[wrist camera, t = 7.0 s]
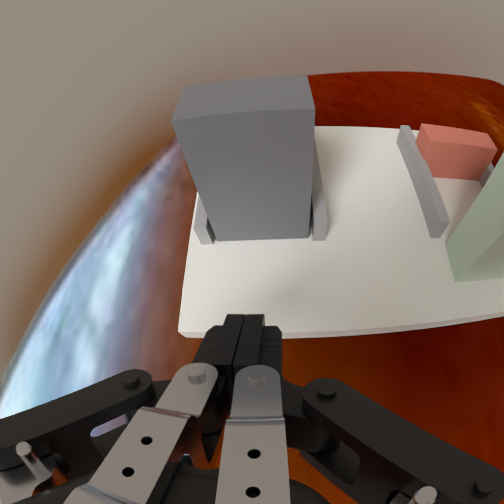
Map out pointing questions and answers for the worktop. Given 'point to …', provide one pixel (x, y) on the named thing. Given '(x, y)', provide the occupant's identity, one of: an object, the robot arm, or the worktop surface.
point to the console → (355, 242)
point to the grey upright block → (250, 154)
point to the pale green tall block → (481, 234)
